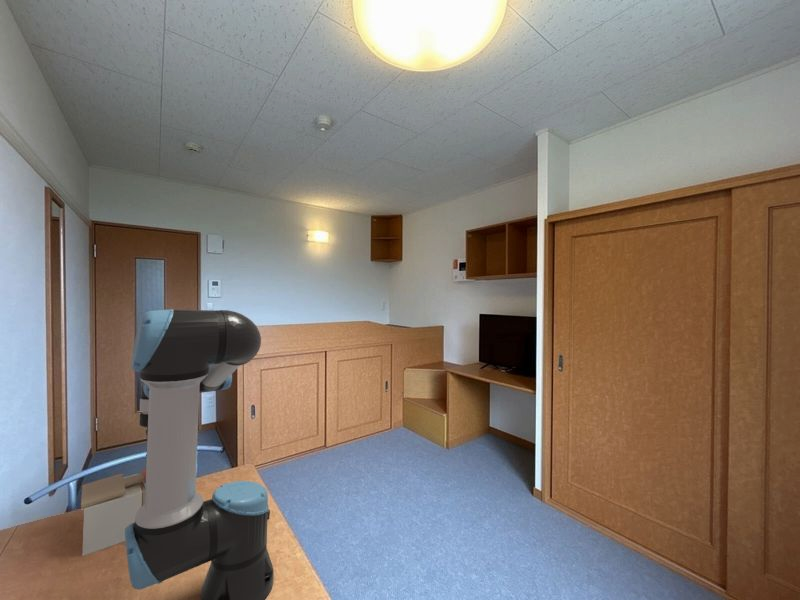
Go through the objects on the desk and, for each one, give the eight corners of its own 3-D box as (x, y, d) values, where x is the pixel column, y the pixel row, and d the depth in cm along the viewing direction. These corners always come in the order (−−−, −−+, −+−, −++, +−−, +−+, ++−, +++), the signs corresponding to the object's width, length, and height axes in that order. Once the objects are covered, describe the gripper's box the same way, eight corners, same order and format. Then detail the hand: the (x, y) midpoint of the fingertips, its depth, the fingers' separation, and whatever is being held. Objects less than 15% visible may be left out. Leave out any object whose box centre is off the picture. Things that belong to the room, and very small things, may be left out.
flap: (167, 481, 100) (166, 475, 100) (81, 510, 87) (80, 503, 87) (160, 465, 109) (160, 459, 109) (82, 489, 97) (82, 483, 97)
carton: (145, 534, 96) (146, 491, 96) (82, 556, 87) (84, 508, 87) (140, 511, 106) (141, 472, 106) (83, 528, 97) (85, 486, 98)
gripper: (175, 415, 99) (173, 495, 98) (165, 401, 113) (163, 471, 112) (143, 421, 94) (140, 505, 93) (137, 405, 108) (134, 478, 107)
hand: (153, 486), depth 103 cm, fingers closed on flap, 6 cm apart
